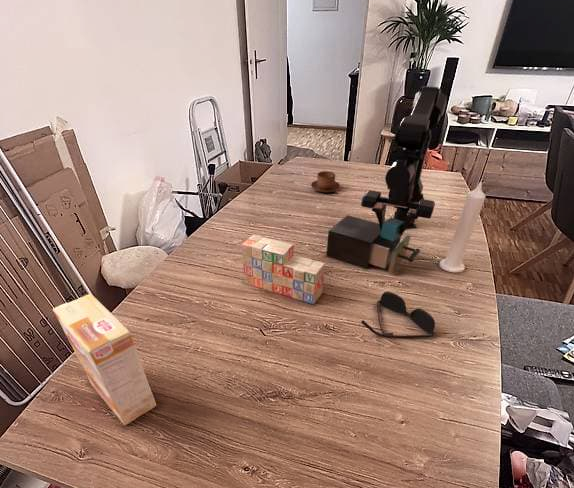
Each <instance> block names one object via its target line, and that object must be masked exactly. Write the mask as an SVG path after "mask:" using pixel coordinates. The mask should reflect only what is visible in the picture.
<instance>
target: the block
mask: <svg viewBox="0 0 574 488" xmlns="http://www.w3.org/2000/svg"><path fill="white" fill-rule="evenodd" d="M403 225H404V222H403V221H400V220H397V219H394V217H389V218H387V219H385V221H384V222H383V225H382V230H381V236H380V237H383V238H385V239H388V240H391V241H393V242H394V241H395V240H397V239H398V238H400V237H401V238H402V236H401V235H400V234H401V230H402V227H403Z"/></svg>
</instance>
